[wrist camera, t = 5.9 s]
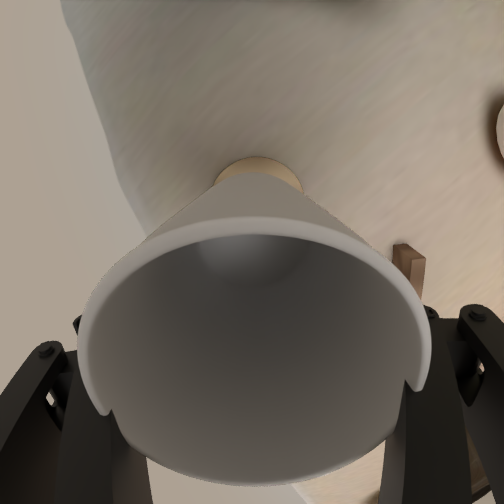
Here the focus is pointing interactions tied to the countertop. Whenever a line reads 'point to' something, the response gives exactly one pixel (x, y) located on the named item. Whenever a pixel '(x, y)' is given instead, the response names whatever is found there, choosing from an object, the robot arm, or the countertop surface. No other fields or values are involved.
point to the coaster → (260, 170)
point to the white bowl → (500, 130)
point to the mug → (253, 339)
